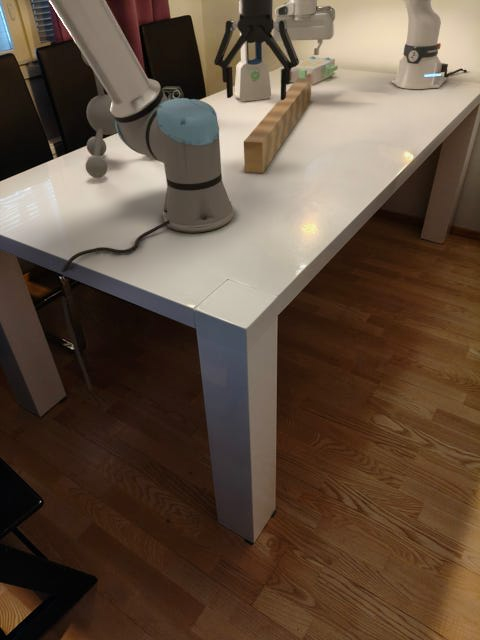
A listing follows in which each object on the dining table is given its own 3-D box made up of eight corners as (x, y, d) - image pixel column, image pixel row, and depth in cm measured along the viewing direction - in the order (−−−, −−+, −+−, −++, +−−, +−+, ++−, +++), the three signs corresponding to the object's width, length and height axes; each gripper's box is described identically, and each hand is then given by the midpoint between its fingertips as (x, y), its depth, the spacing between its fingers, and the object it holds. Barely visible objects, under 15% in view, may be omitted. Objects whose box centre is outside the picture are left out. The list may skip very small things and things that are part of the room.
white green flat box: (303, 54, 216) (344, 57, 207) (302, 70, 220) (342, 74, 211) (271, 65, 200) (314, 69, 191) (271, 82, 204) (314, 87, 195)
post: (263, 173, 126) (262, 142, 121) (244, 172, 127) (243, 141, 123) (310, 101, 179) (311, 78, 174) (297, 101, 180) (298, 78, 175)
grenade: (164, 121, 167) (160, 89, 161) (170, 116, 172) (166, 85, 166) (182, 121, 166) (179, 89, 160) (188, 116, 170) (184, 85, 164)
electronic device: (239, 102, 182) (235, 7, 164) (234, 97, 188) (230, 5, 170) (271, 98, 184) (270, 4, 166) (265, 93, 190) (264, 2, 172)
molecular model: (172, 168, 131) (155, 42, 113) (90, 184, 125) (57, 53, 107) (152, 143, 149) (134, 30, 130) (79, 156, 143) (49, 39, 124)
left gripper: (314, -8, 107) (309, 96, 120) (208, -6, 113) (213, 92, 126) (308, -5, 102) (303, 103, 114) (196, -4, 108) (203, 99, 120)
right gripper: (336, 4, 156) (334, 52, 165) (274, 6, 162) (275, 53, 171) (334, 7, 152) (332, 56, 161) (270, 9, 157) (271, 57, 166)
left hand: (256, 97), depth 120 cm, fingers open, 13 cm apart
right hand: (302, 54), depth 166 cm, fingers open, 8 cm apart
